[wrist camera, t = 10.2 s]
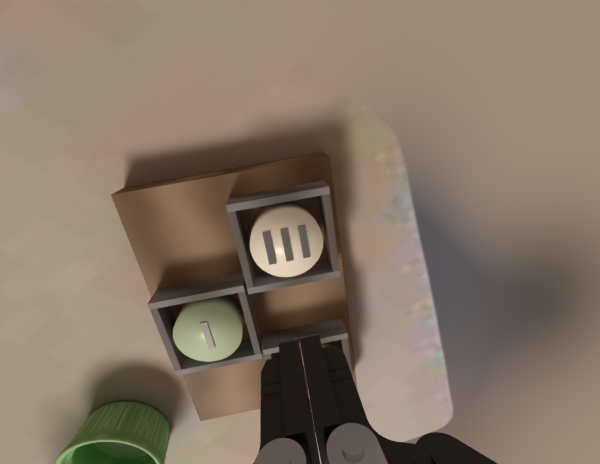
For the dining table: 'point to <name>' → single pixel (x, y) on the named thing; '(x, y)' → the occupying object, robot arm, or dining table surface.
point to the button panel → (236, 269)
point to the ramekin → (120, 436)
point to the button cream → (285, 239)
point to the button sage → (209, 328)
